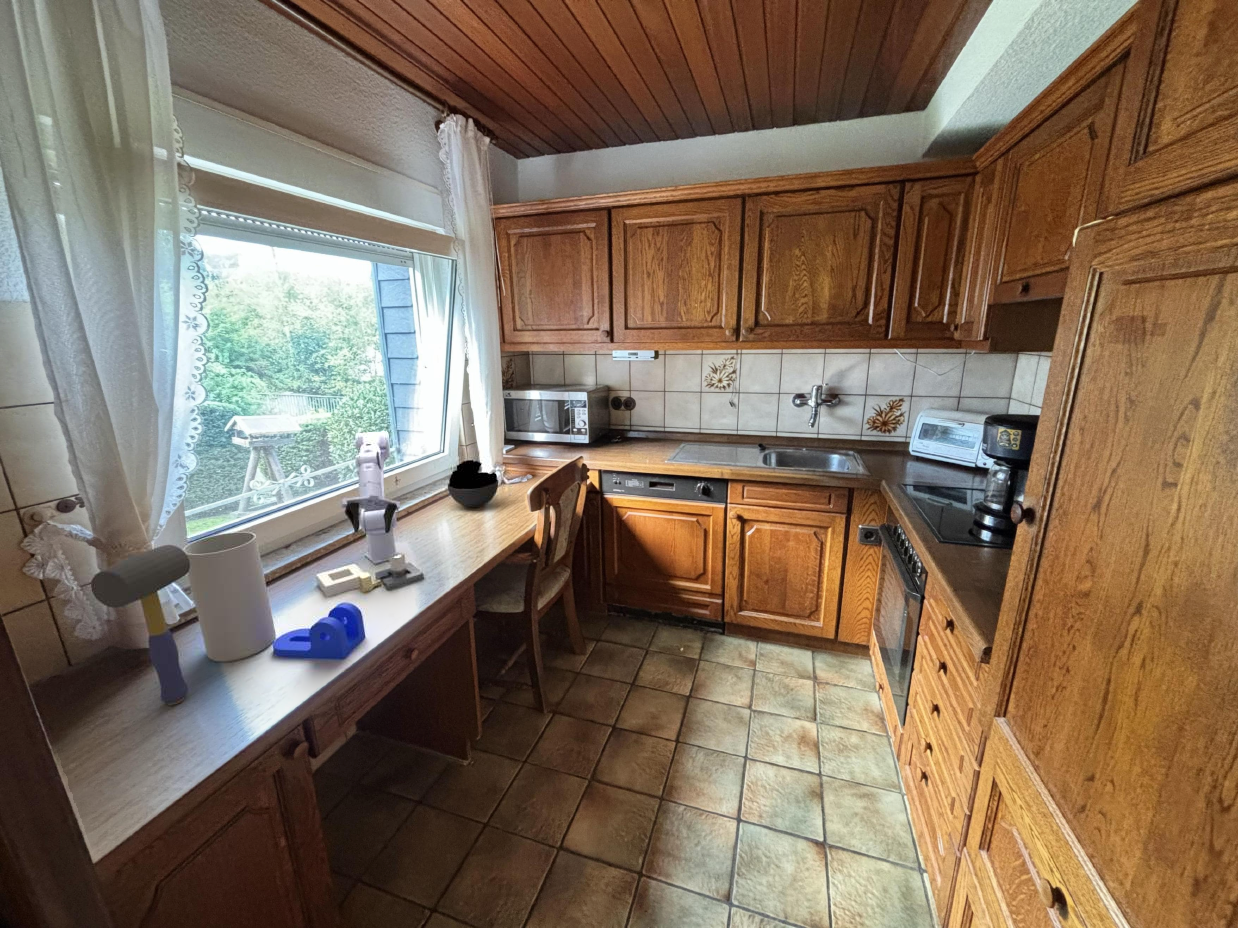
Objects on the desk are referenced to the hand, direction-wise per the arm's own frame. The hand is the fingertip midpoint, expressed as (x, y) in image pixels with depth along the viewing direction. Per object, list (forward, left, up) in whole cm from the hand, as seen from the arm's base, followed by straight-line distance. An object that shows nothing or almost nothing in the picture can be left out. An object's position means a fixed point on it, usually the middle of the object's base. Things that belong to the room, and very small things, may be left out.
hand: (372, 530), depth 135 cm
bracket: (+18, -20, -18) cm, 32 cm away
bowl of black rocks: (-48, +53, -17) cm, 74 cm away
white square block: (-11, -7, -17) cm, 21 cm away
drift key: (-3, -2, -17) cm, 17 cm away
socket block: (-3, +6, -17) cm, 18 cm away
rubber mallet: (+19, -44, -17) cm, 51 cm away
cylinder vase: (+6, -32, -17) cm, 37 cm away
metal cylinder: (-3, +6, -17) cm, 18 cm away
